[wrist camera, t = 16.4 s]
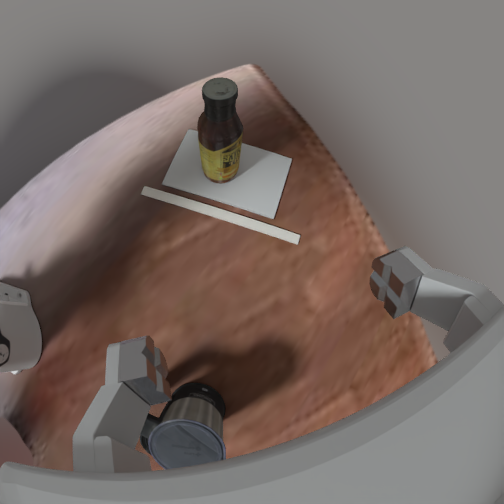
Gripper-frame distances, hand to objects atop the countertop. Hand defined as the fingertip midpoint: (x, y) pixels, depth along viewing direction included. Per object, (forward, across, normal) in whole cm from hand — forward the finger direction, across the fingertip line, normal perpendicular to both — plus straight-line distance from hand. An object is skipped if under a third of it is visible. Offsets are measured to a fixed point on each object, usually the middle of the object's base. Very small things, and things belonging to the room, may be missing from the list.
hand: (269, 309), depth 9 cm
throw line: (+35, -1, +14) cm, 37 cm away
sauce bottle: (+40, -4, +8) cm, 41 cm away
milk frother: (+12, +16, +37) cm, 42 cm away
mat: (+40, -5, +9) cm, 41 cm away
